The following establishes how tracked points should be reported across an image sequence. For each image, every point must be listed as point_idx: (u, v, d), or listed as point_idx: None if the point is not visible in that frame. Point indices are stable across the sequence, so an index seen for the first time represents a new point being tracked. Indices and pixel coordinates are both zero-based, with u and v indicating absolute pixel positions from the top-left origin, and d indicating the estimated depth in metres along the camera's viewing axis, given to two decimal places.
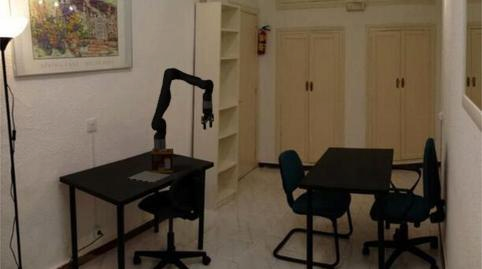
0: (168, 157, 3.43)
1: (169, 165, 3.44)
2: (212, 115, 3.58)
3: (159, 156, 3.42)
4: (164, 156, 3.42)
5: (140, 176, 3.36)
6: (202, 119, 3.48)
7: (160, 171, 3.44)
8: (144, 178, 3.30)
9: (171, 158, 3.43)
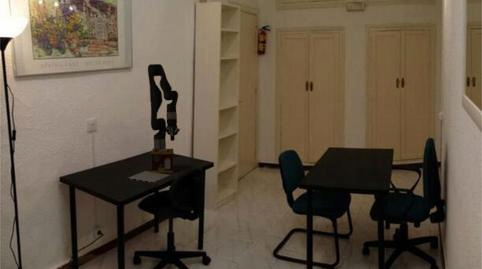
0: (168, 157, 3.43)
1: (169, 165, 3.44)
2: None
3: (159, 156, 3.42)
4: (164, 156, 3.42)
5: (140, 176, 3.36)
6: (177, 132, 3.53)
7: (160, 171, 3.44)
8: (144, 178, 3.30)
9: (171, 158, 3.43)
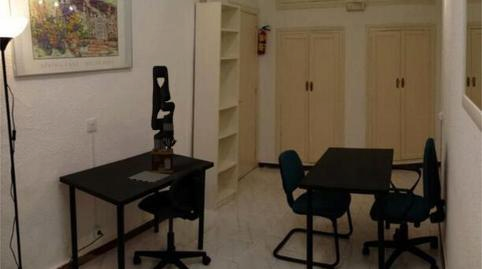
0: (168, 157, 3.43)
1: (169, 165, 3.44)
2: None
3: (159, 156, 3.42)
4: (164, 156, 3.42)
5: (140, 176, 3.36)
6: (174, 143, 3.50)
7: (160, 171, 3.44)
8: (144, 178, 3.30)
9: (171, 158, 3.43)
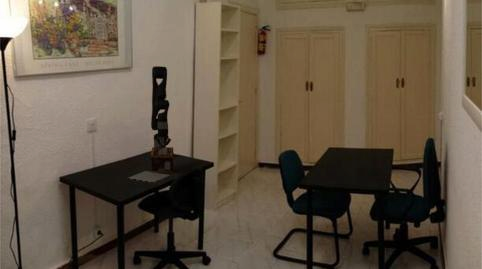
0: (168, 160, 3.39)
1: (169, 167, 3.42)
2: None
3: (159, 159, 3.38)
4: (164, 159, 3.38)
5: (140, 176, 3.36)
6: (168, 142, 3.44)
7: (160, 171, 3.44)
8: (144, 178, 3.30)
9: (171, 161, 3.39)
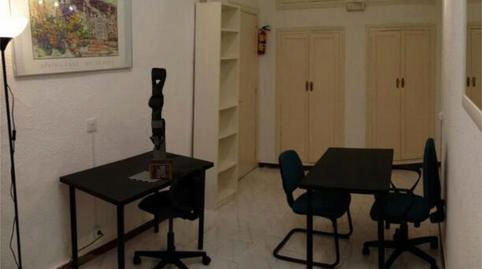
0: None
1: None
2: None
3: None
4: None
5: (140, 176, 3.36)
6: (163, 141, 3.38)
7: None
8: (144, 178, 3.30)
9: None
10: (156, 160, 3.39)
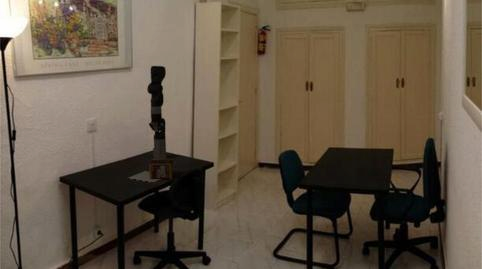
0: None
1: None
2: None
3: None
4: None
5: (140, 176, 3.36)
6: (162, 127, 3.36)
7: None
8: (144, 178, 3.30)
9: None
10: (156, 160, 3.39)
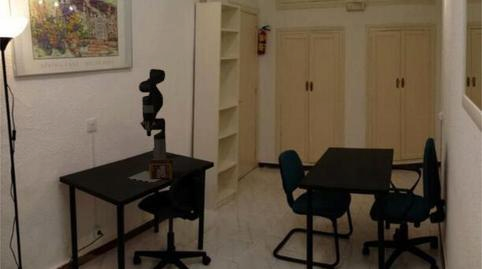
0: None
1: None
2: None
3: None
4: None
5: (140, 176, 3.36)
6: (154, 126, 3.28)
7: None
8: (144, 178, 3.30)
9: None
10: (156, 160, 3.39)
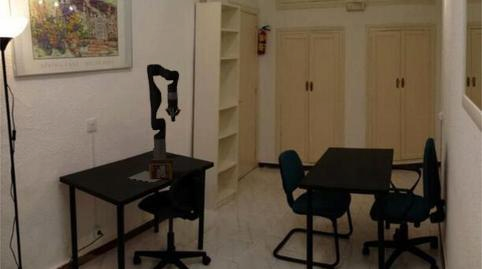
0: None
1: None
2: None
3: None
4: None
5: (140, 176, 3.36)
6: (178, 112, 3.48)
7: None
8: (144, 178, 3.30)
9: None
10: (156, 160, 3.39)
